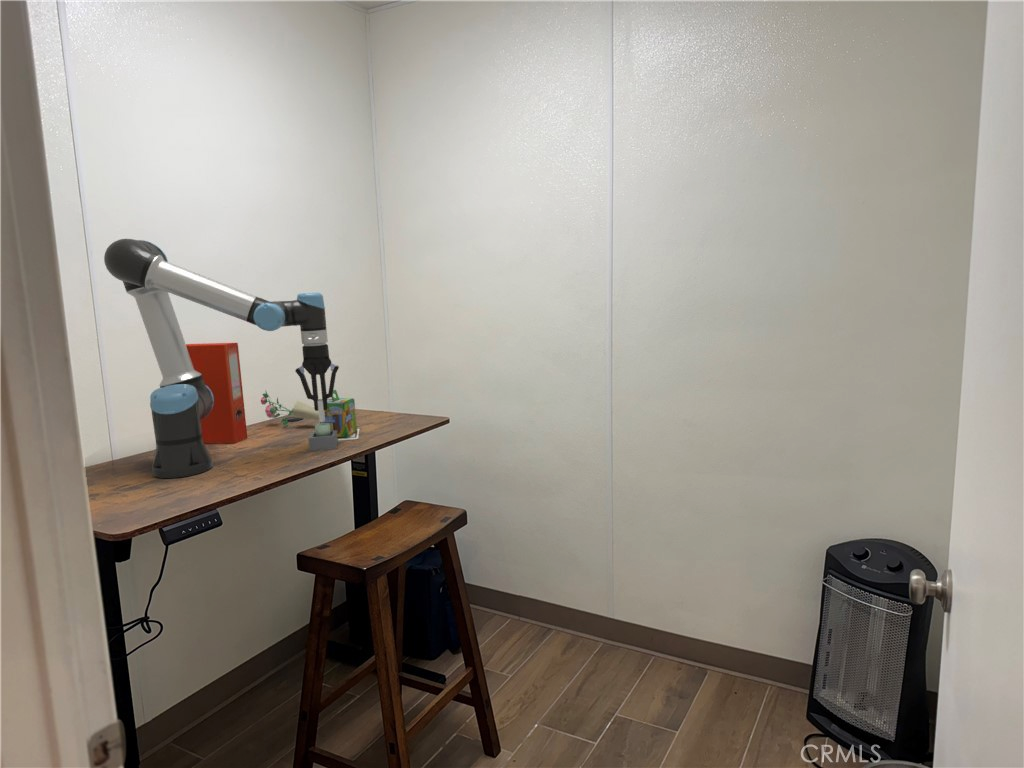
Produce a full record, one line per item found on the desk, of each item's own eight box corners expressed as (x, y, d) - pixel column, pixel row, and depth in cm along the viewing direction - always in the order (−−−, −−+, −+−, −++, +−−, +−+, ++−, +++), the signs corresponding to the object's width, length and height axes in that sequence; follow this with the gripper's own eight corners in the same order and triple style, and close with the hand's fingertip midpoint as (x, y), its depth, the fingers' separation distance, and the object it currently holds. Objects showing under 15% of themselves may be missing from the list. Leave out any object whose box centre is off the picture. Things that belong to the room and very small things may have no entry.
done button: (315, 439, 204) (314, 426, 203) (316, 436, 208) (315, 423, 208) (330, 438, 205) (329, 425, 204) (331, 435, 209) (330, 422, 208)
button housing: (309, 451, 202) (308, 438, 202) (312, 444, 210) (311, 432, 210) (336, 448, 204) (335, 435, 203) (338, 442, 212) (337, 430, 211)
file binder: (200, 437, 226) (189, 343, 221) (248, 437, 224) (237, 342, 218) (185, 443, 218) (173, 346, 213) (234, 443, 216) (223, 345, 210)
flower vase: (336, 451, 230) (248, 427, 238) (354, 433, 240) (269, 410, 248) (334, 423, 224) (244, 399, 232) (352, 405, 234) (266, 383, 243)
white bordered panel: (319, 442, 213) (319, 441, 212) (323, 432, 226) (323, 431, 226) (357, 439, 215) (357, 438, 215) (359, 429, 228) (359, 428, 228)
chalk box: (347, 438, 215) (343, 392, 213) (320, 438, 217) (316, 393, 214) (358, 431, 224) (354, 387, 222) (332, 431, 226) (328, 388, 223)
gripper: (290, 347, 197) (298, 425, 201) (336, 344, 199) (343, 421, 203) (294, 344, 204) (301, 420, 208) (338, 341, 207) (344, 416, 211)
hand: (322, 420), depth 206 cm, fingers closed
